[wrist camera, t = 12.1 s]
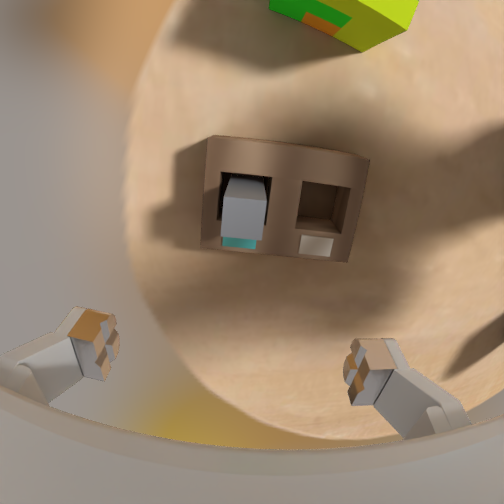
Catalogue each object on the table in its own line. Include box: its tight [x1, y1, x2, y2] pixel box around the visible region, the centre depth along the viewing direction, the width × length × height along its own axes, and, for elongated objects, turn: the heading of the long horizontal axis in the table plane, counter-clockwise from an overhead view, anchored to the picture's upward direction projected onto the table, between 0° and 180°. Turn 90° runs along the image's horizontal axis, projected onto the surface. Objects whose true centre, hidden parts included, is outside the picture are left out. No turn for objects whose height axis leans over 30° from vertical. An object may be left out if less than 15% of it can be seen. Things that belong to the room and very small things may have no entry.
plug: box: [221, 174, 267, 241], centre depth 26 cm, size 3×3×9 cm
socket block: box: [201, 135, 370, 262], centre depth 28 cm, size 14×10×4 cm
